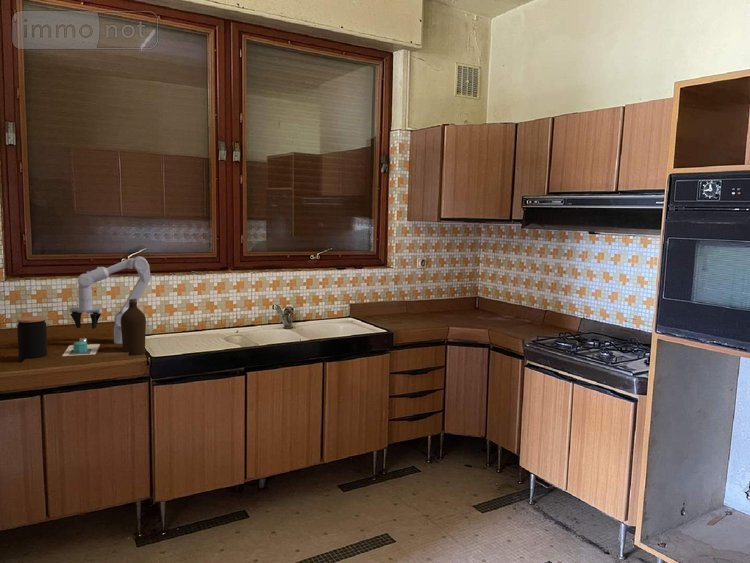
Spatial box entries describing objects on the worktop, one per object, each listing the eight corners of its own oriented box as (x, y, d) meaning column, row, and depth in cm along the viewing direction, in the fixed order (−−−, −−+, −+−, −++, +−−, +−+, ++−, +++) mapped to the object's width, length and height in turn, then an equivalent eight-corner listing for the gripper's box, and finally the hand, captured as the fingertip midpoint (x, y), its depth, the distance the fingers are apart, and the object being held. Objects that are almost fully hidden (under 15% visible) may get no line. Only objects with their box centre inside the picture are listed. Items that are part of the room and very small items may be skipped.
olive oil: (133, 356, 250) (132, 301, 247) (116, 354, 254) (114, 299, 251) (151, 352, 259) (150, 298, 256) (134, 349, 263) (133, 296, 261)
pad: (91, 349, 255) (91, 348, 254) (89, 353, 247) (89, 352, 247) (71, 350, 252) (71, 349, 252) (69, 354, 244) (69, 353, 244)
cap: (85, 349, 253) (85, 340, 253) (88, 351, 249) (88, 342, 249) (72, 350, 250) (72, 342, 249) (75, 353, 246) (74, 344, 245)
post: (87, 346, 261) (87, 337, 260) (86, 347, 258) (86, 339, 257) (80, 346, 259) (79, 338, 259) (79, 348, 257) (79, 339, 256)
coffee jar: (51, 356, 247) (50, 315, 245) (41, 362, 237) (40, 320, 235) (25, 356, 246) (23, 315, 244) (14, 362, 235) (12, 320, 233)
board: (100, 346, 266) (100, 343, 266) (95, 357, 247) (95, 354, 247) (69, 348, 262) (69, 345, 261) (62, 359, 242) (62, 356, 242)
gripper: (105, 298, 265) (105, 326, 267) (75, 297, 266) (76, 325, 268) (96, 300, 258) (97, 329, 260) (66, 299, 259) (67, 328, 261)
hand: (86, 328), depth 263 cm, fingers open, 7 cm apart
